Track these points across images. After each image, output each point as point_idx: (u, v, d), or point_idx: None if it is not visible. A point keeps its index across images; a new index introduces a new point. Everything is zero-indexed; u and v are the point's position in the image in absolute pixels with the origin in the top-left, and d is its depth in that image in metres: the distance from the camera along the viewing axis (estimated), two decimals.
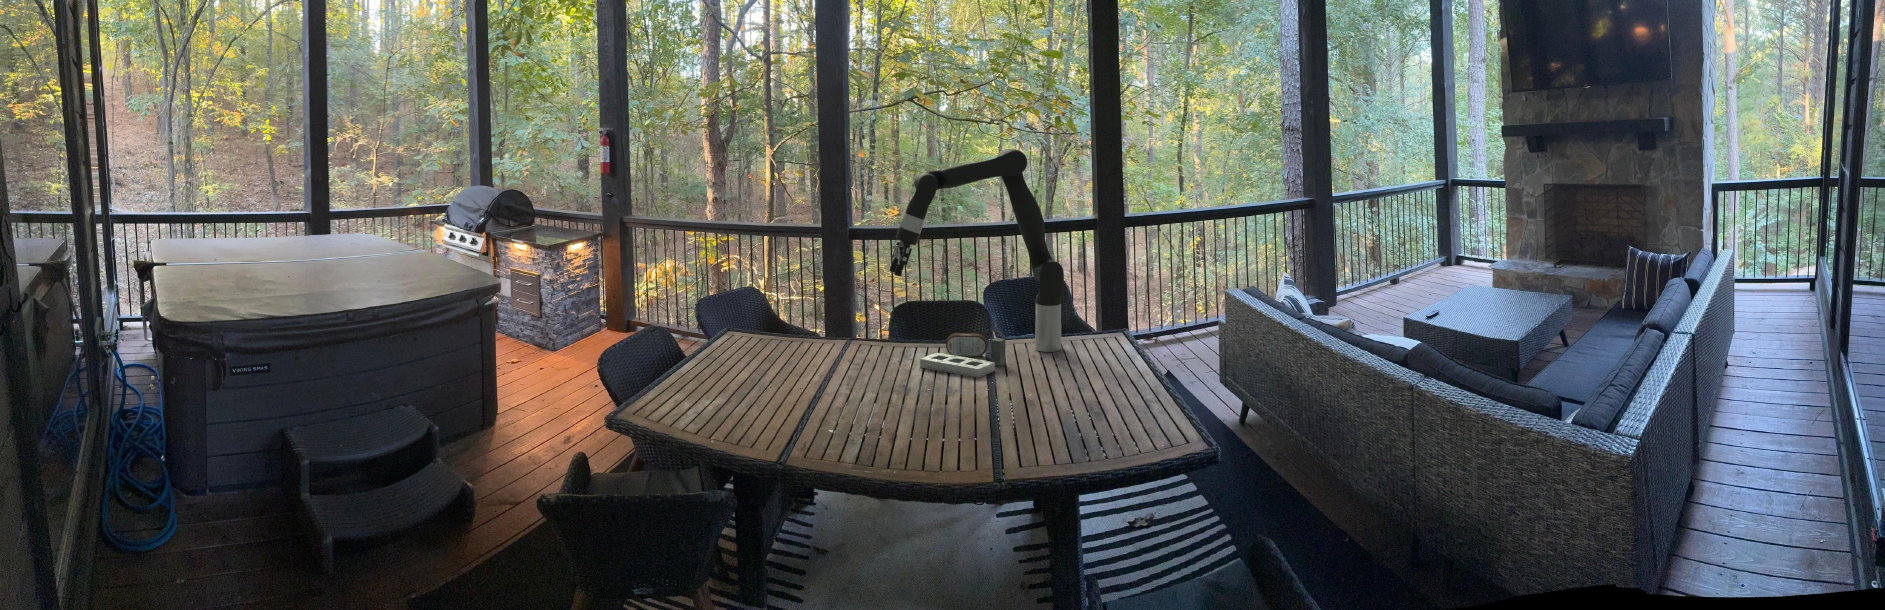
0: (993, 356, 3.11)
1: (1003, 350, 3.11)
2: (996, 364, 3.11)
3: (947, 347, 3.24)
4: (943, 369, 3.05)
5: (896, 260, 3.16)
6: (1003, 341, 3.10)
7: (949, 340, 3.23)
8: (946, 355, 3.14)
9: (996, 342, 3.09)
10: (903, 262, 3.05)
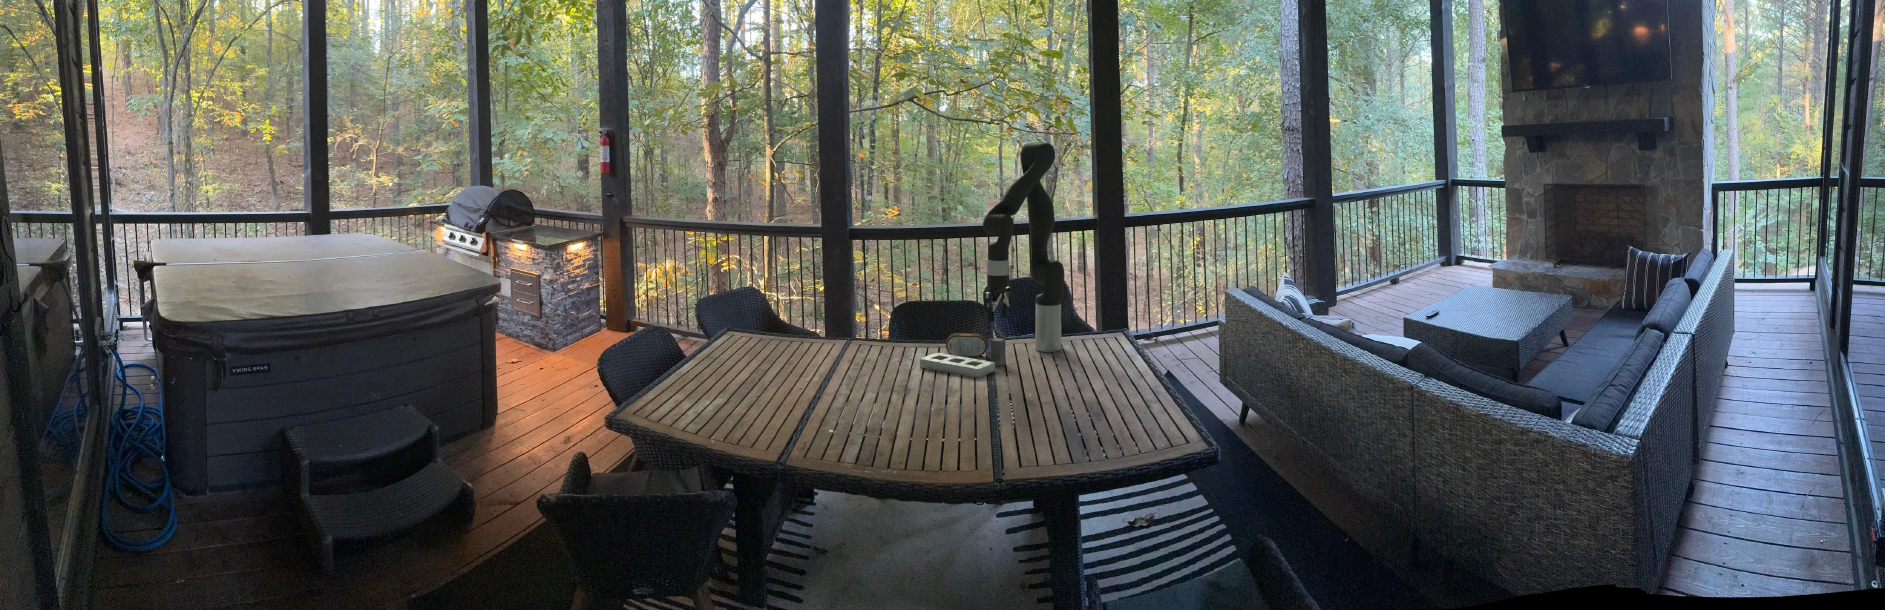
0: (993, 356, 3.11)
1: (1003, 350, 3.11)
2: (996, 364, 3.11)
3: (947, 347, 3.24)
4: (943, 369, 3.05)
5: (1004, 305, 3.12)
6: (1003, 341, 3.10)
7: (949, 340, 3.23)
8: (946, 355, 3.14)
9: (996, 342, 3.09)
10: (986, 308, 3.03)
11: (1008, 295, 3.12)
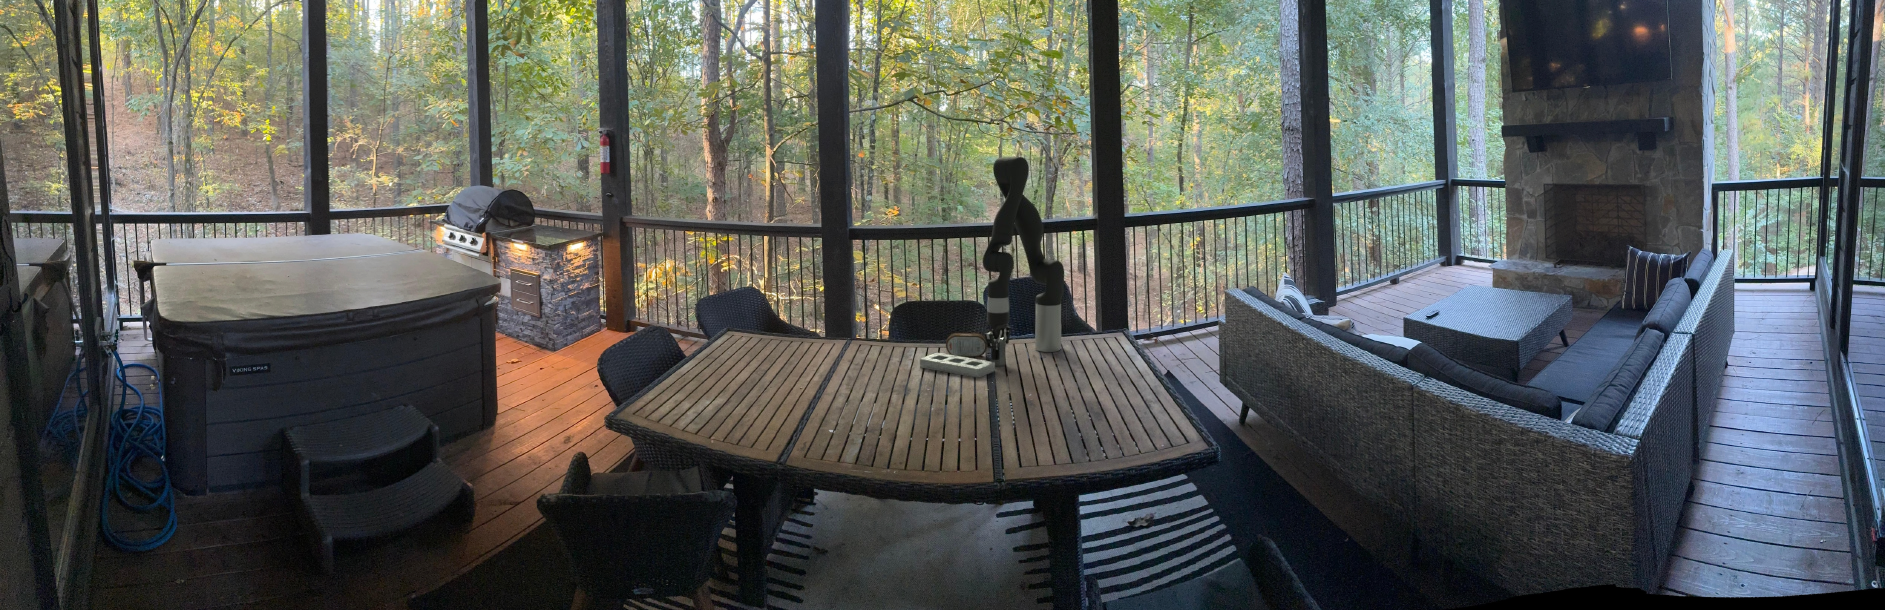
0: None
1: (1003, 350, 3.11)
2: (996, 364, 3.11)
3: (947, 347, 3.24)
4: (943, 369, 3.05)
5: None
6: (1003, 341, 3.10)
7: (949, 340, 3.23)
8: (946, 355, 3.14)
9: None
10: (990, 346, 3.07)
11: (1006, 334, 3.14)
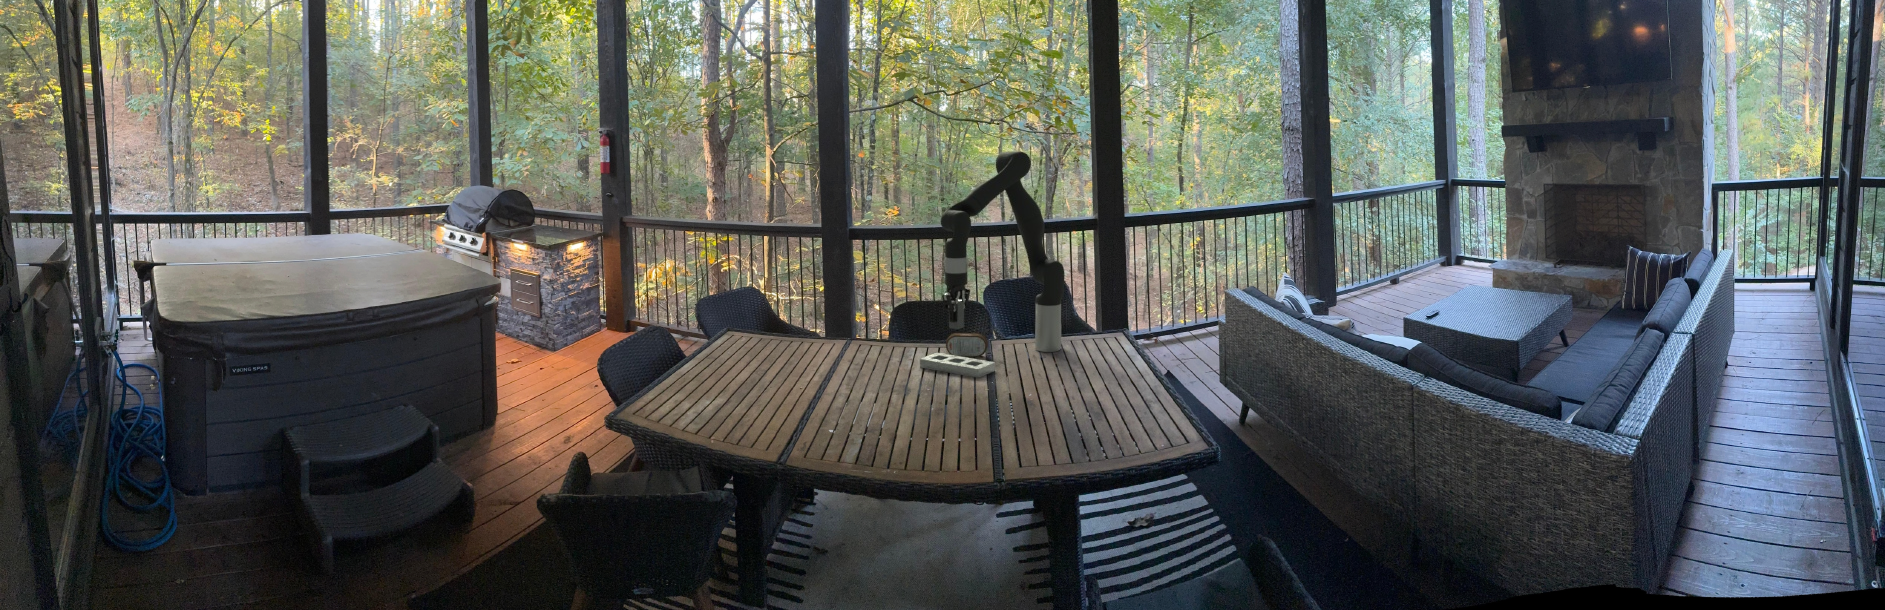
0: None
1: (961, 312, 3.04)
2: (954, 326, 3.04)
3: (947, 347, 3.24)
4: (943, 369, 3.05)
5: None
6: (961, 303, 3.03)
7: (949, 340, 3.23)
8: (946, 355, 3.14)
9: None
10: (947, 308, 3.00)
11: (965, 296, 3.07)
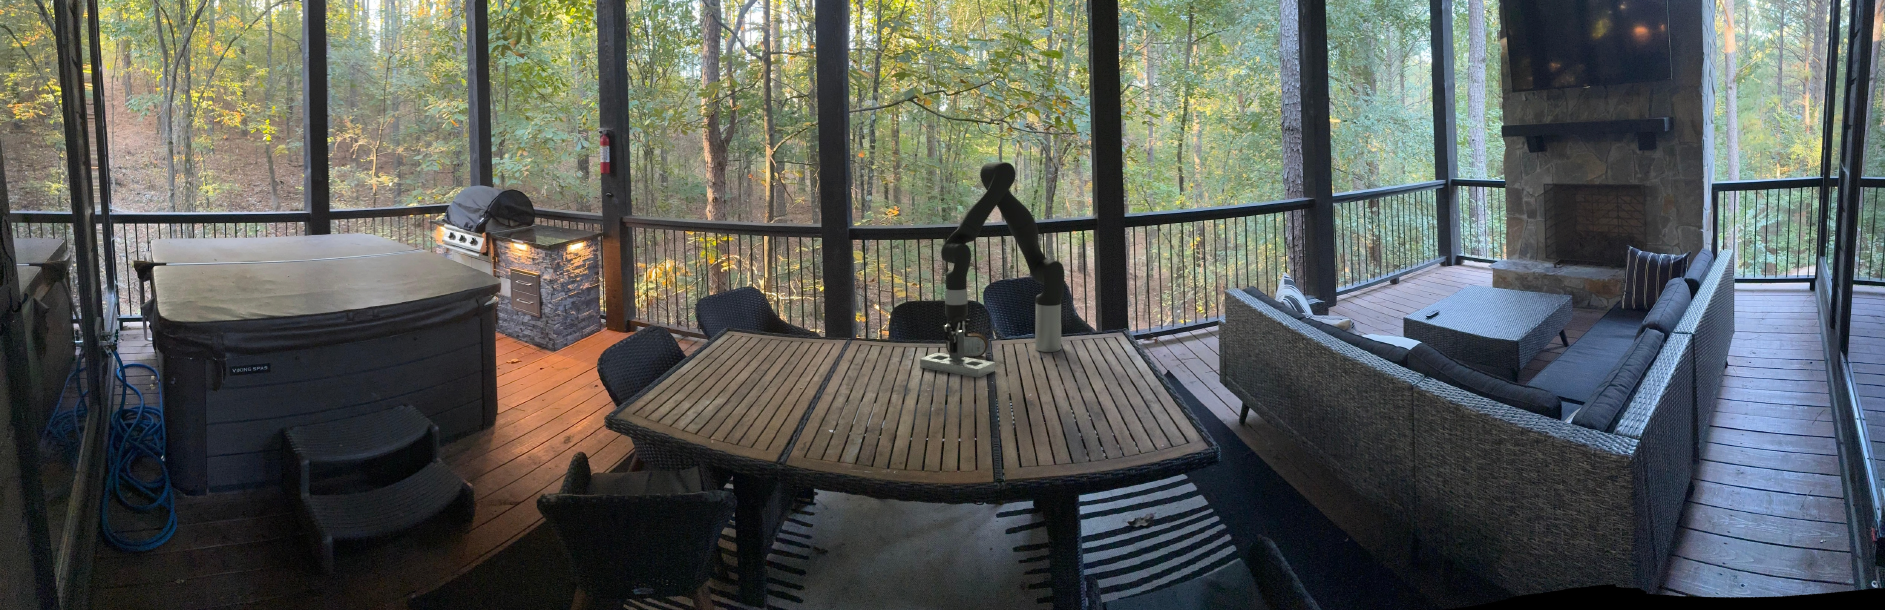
0: None
1: (961, 343, 3.06)
2: (954, 357, 3.06)
3: (947, 347, 3.24)
4: (943, 369, 3.05)
5: None
6: (961, 334, 3.05)
7: None
8: (946, 355, 3.14)
9: None
10: (948, 339, 3.02)
11: (965, 327, 3.09)
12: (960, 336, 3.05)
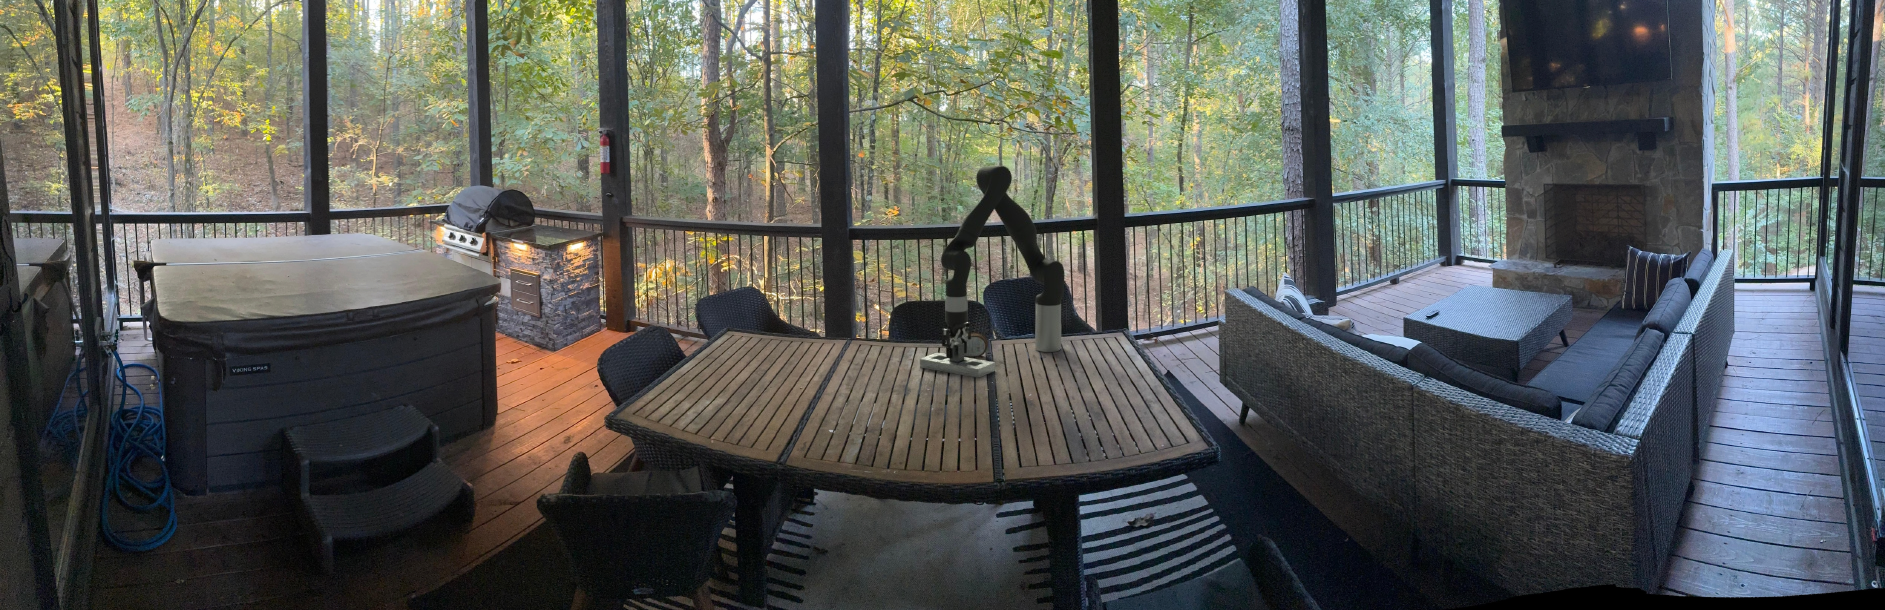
0: (951, 360, 3.07)
1: (962, 354, 3.07)
2: None
3: None
4: (943, 369, 3.05)
5: (963, 341, 3.10)
6: (962, 345, 3.06)
7: None
8: None
9: (954, 346, 3.05)
10: (944, 345, 3.01)
11: (967, 330, 3.10)
12: (960, 347, 3.05)
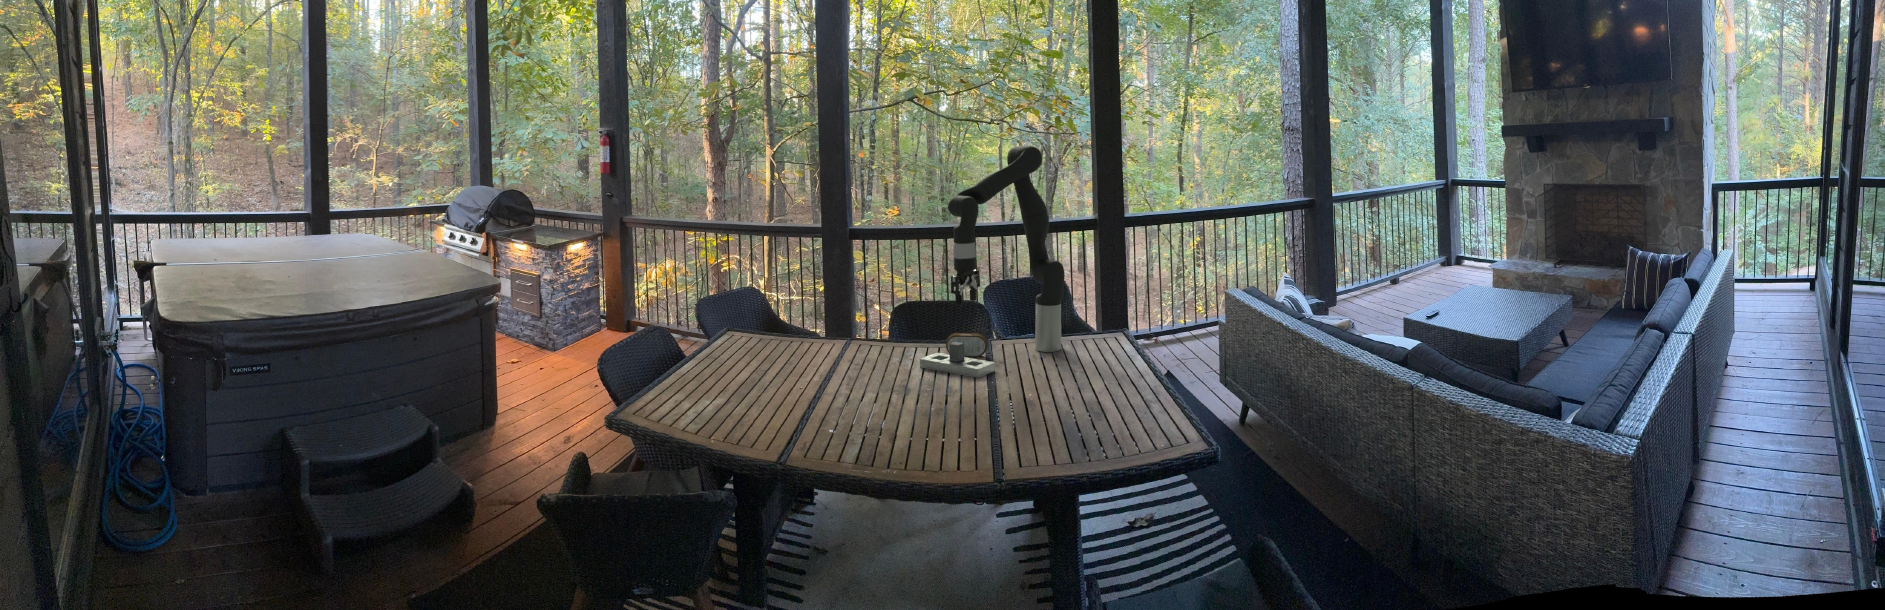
0: (951, 360, 3.07)
1: (962, 354, 3.07)
2: None
3: (947, 347, 3.24)
4: (943, 369, 3.05)
5: (972, 288, 3.09)
6: (962, 345, 3.06)
7: (949, 340, 3.23)
8: (946, 355, 3.14)
9: (954, 346, 3.05)
10: (953, 292, 3.00)
11: (976, 278, 3.09)
12: (960, 347, 3.06)
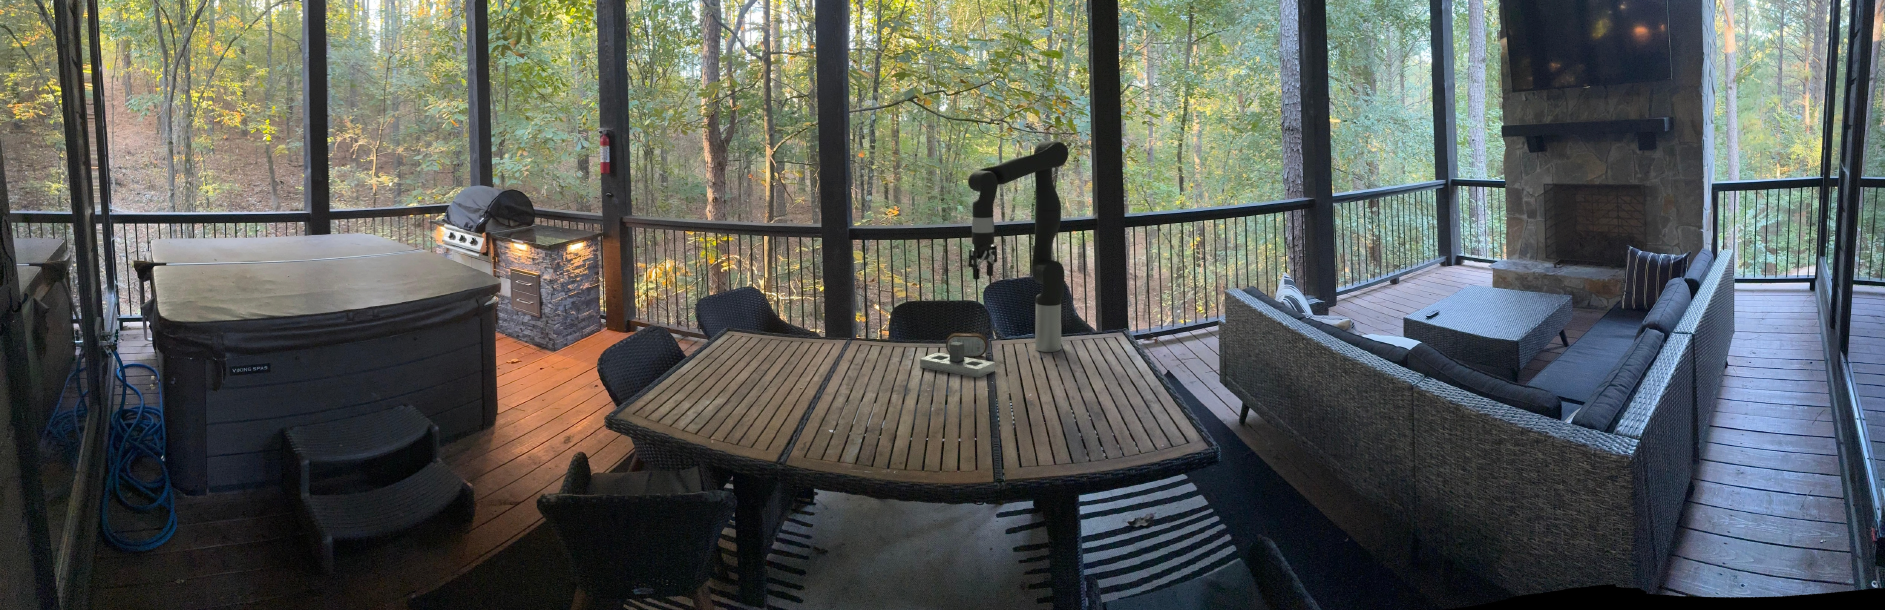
0: (951, 360, 3.07)
1: (962, 354, 3.07)
2: None
3: (947, 347, 3.24)
4: (943, 369, 3.05)
5: (989, 263, 3.12)
6: (962, 345, 3.06)
7: (949, 340, 3.23)
8: (946, 355, 3.14)
9: (954, 346, 3.05)
10: (971, 265, 3.03)
11: (993, 253, 3.13)
12: (960, 347, 3.05)
